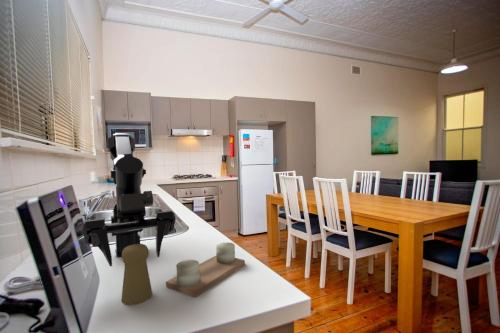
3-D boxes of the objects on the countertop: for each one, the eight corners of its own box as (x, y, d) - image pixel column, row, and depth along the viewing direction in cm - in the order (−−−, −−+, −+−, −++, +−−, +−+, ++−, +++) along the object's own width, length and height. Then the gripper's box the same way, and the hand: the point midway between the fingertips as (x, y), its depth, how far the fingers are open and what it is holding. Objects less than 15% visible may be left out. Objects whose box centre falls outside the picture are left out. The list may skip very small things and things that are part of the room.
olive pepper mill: (158, 293, 57) (156, 243, 56) (132, 307, 51) (130, 252, 51) (140, 287, 60) (138, 239, 59) (115, 299, 55) (112, 247, 54)
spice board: (166, 286, 60) (165, 264, 59) (218, 258, 76) (218, 240, 75) (195, 297, 55) (194, 272, 55) (244, 264, 71) (244, 245, 71)
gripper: (81, 182, 55) (78, 250, 46) (172, 177, 64) (185, 233, 54) (86, 213, 62) (84, 277, 53) (167, 205, 71) (178, 258, 62)
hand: (135, 260), depth 55 cm, fingers open, 9 cm apart
